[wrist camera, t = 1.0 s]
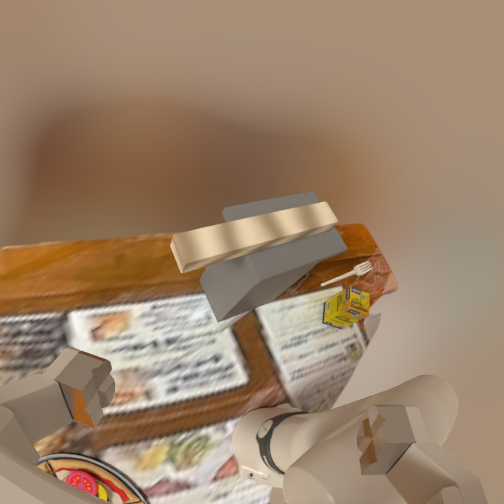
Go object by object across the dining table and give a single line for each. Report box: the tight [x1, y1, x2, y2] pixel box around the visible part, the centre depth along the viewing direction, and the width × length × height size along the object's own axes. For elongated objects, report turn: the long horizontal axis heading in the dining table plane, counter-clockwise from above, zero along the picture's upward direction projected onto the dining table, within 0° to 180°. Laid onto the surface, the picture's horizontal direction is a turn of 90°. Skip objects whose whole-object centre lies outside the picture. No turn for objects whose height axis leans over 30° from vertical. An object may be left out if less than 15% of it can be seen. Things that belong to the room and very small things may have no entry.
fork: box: [321, 261, 373, 286], centre depth 84 cm, size 3×20×2 cm, turn 116°
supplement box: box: [323, 286, 369, 329], centre depth 72 cm, size 6×6×11 cm
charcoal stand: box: [199, 192, 348, 322], centre depth 59 cm, size 18×12×26 cm, turn 118°
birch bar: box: [170, 202, 338, 273], centre depth 44 cm, size 26×4×3 cm, turn 117°
